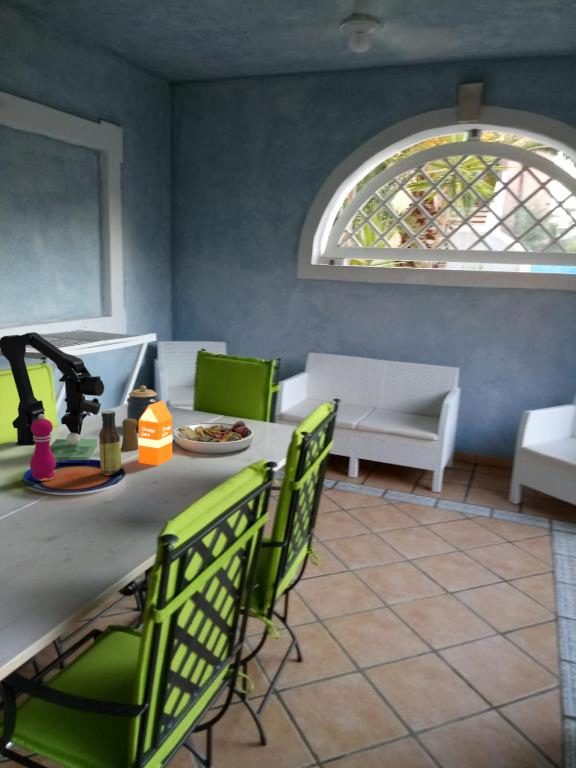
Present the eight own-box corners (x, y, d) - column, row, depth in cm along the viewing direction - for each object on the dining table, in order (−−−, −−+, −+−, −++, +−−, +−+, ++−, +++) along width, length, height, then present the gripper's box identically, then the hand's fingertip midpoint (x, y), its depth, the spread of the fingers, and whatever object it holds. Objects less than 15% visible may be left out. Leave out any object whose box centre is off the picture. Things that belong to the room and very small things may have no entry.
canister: (134, 422, 243) (134, 381, 240) (163, 424, 241) (163, 383, 238) (121, 430, 230) (121, 387, 227) (152, 432, 229) (152, 389, 226)
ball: (65, 447, 198) (64, 440, 195) (67, 436, 201) (67, 429, 198) (78, 448, 199) (78, 441, 196) (81, 438, 202) (80, 430, 199)
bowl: (201, 461, 196) (201, 439, 195) (158, 441, 219) (158, 421, 217) (269, 448, 216) (269, 427, 214) (224, 430, 238) (224, 412, 237)
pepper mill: (31, 483, 168) (28, 417, 165) (29, 476, 174) (27, 412, 171) (57, 480, 171) (55, 415, 168) (55, 473, 178) (53, 410, 174)
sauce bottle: (125, 471, 182) (124, 411, 178) (113, 477, 176) (112, 415, 172) (107, 468, 184) (107, 408, 180) (95, 474, 178) (94, 412, 174)
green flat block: (56, 445, 206) (56, 439, 205) (97, 445, 208) (97, 439, 208) (41, 464, 185) (41, 456, 185) (86, 464, 188) (86, 456, 187)
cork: (133, 451, 203) (133, 421, 201) (118, 450, 204) (117, 420, 202) (141, 447, 209) (141, 417, 207) (126, 445, 210) (126, 416, 208)
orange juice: (138, 462, 192) (138, 404, 188) (153, 455, 200) (153, 399, 196) (158, 465, 189) (158, 406, 186) (172, 458, 197) (173, 401, 194)
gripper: (93, 399, 193) (96, 443, 196) (102, 387, 211) (104, 428, 214) (59, 400, 191) (62, 445, 194) (70, 388, 209) (73, 429, 212)
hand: (77, 436), depth 204 cm, fingers open, 5 cm apart
